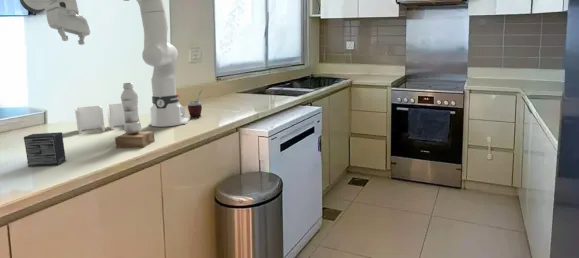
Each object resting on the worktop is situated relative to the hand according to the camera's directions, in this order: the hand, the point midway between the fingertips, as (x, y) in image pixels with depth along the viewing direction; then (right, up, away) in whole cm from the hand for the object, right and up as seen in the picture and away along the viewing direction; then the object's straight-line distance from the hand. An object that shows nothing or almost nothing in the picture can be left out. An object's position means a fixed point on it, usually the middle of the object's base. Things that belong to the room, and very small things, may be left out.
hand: (73, 42), depth 192 cm
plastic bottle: (+25, -37, -4) cm, 45 cm away
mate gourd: (+38, -29, +58) cm, 75 cm away
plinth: (+26, -41, -3) cm, 49 cm away
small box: (+4, -47, -28) cm, 55 cm away
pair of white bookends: (0, -35, +35) cm, 50 cm away
